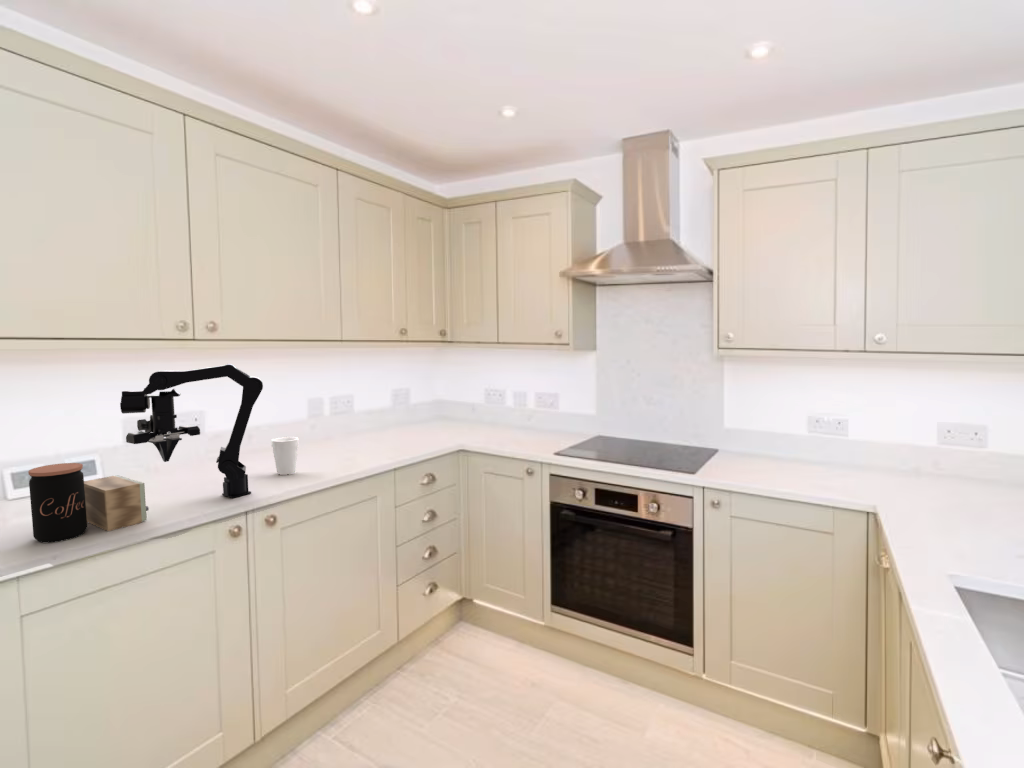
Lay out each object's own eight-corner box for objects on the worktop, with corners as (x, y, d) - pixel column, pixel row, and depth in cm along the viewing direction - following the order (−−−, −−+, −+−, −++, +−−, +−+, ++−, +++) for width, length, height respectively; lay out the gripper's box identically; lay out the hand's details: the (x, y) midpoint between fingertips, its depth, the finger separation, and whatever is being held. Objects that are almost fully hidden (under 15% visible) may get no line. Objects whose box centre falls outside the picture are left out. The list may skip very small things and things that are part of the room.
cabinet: (115, 512, 155) (113, 475, 154) (141, 522, 147) (139, 483, 146) (82, 520, 148) (79, 482, 147) (108, 531, 140) (105, 490, 139)
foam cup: (283, 469, 206) (282, 436, 205) (304, 470, 204) (303, 437, 203) (267, 475, 197) (266, 441, 196) (289, 476, 195) (288, 442, 194)
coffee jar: (37, 547, 129) (31, 475, 128) (30, 536, 136) (25, 468, 135) (91, 535, 137) (86, 467, 136) (83, 525, 144) (78, 460, 143)
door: (124, 508, 157) (122, 474, 156) (151, 518, 149) (149, 481, 148) (115, 511, 155) (112, 475, 154) (141, 521, 147) (139, 483, 146)
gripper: (181, 406, 174) (184, 453, 175) (116, 413, 158) (119, 464, 160) (199, 408, 168) (202, 457, 170) (133, 416, 152) (136, 469, 154)
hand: (166, 461), depth 163 cm, fingers closed
